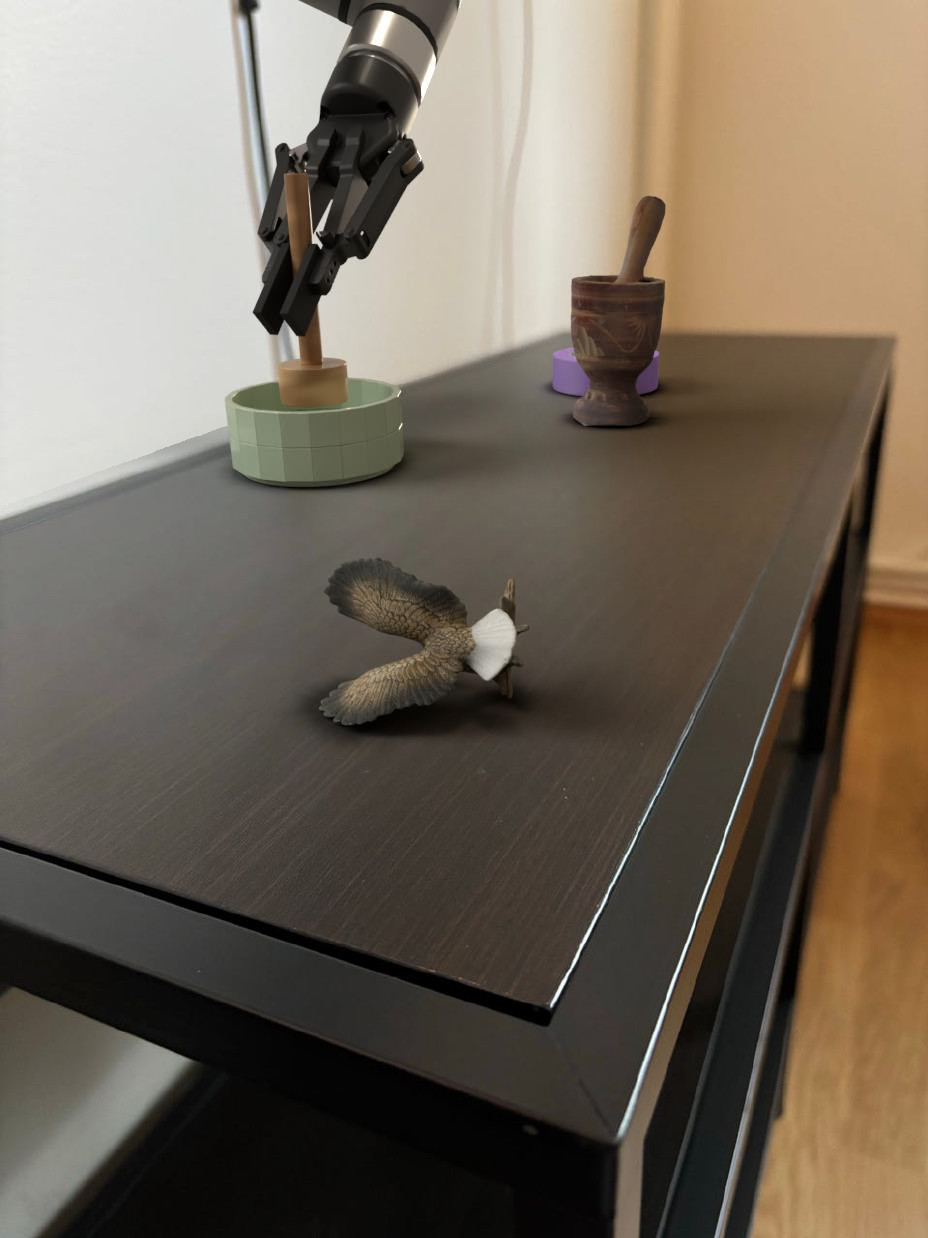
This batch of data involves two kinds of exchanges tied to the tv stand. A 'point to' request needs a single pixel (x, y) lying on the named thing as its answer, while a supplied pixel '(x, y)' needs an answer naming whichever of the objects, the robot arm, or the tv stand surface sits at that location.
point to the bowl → (315, 435)
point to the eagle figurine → (427, 619)
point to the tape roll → (576, 381)
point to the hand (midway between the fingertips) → (278, 323)
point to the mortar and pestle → (619, 327)
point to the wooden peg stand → (311, 374)
